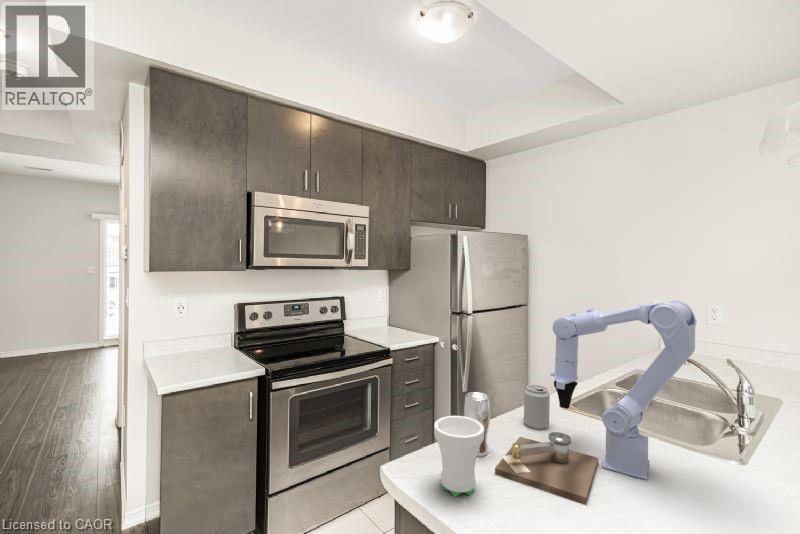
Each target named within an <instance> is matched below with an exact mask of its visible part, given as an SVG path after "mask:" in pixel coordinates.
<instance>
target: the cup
mask: <svg viewBox="0 0 800 534" xmlns="http://www.w3.org/2000/svg"><path fill="white" fill-rule="evenodd" d="M433 426H434V427H433V430H434V431H433V432H434V437H435V440H436V442H437V444H438V446H439V450H440V455H441V464H442V470H441V480H440V482H441V487H442V490H445V491H449V492H450V493H451V494H452V495H453V496H454V497H459V496H460V495H461V494H466V495H470V496H471V495H472V494H473V491H474V490H475V489H474V488H475V486H476V475H475V470H476V469H475V467H476V459H477V457H478V456H477V453H478V450H479V447H480V445H481V443H482V441H483V440H484V427H483V425H482V424H481V423H480V422H478V421H477V420H475V419H472V418H469V417H465V415H463V416H462V415H448V416H444V417H443V416H442V417H440V418H438V419H437V420H436V421H435V422H434V425H433Z"/></svg>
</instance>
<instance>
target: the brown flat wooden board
mask: <svg viewBox="0 0 800 534" xmlns="http://www.w3.org/2000/svg"><path fill="white" fill-rule="evenodd" d="M514 443H518V444H520V445H526V444H535V443H543V441H539V440H538V441H537V440H534V439H530V438H526V437H523V436H519V437H518V438H517V440H516V441H515V442H514ZM500 458H501V460H500V461H499V462H498V464H497V465H496V467H495V468H494V475H496V476H500V477H502V478H506V479H508V480H512V481H515V482H517V483H520V484H523V485H526V486H530V487H532V488H535V489H538V490H541V491H544V492H546V493H550V494H553V495H556V496H558V497H562V498H565V499H567V500H571V501H573V502H576V503H579V504H583V505H585V506H587V503H588V500H589V496H590V493H591V490H592V487H593V486H592V485H593V483H594V479H595V476H596V472H597V469H598V465H599V457H598V456H594V455H591V454H587V453H583V452H579V451H576V450H571V449H569V462H568V463H557V462H555V461H553V460H551V459H550V453H545V454H536V455H528V456H521V458H520V459H514V458H513V457H512V446H511V447H510V448H509V449H508V451H507V452H506V454H505V455H501V456H500Z"/></svg>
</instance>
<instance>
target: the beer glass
mask: <svg viewBox="0 0 800 534" xmlns="http://www.w3.org/2000/svg"><path fill="white" fill-rule="evenodd" d="M464 396H465V397H464V408H463V409H464V410H463V411H464V413H463V414H464V415H463V416H464V417H469V418H472V419H475V420H477V421H478V422H480V423H481V424H482V425H483V427H484V440H483V441H482V443H481V445H480V447H479V450H478V453H477V456H476V457H479V458H481V457H486V456H487V455H488V454H489V447H488V446H489V445H488V433H489V428H490V423H491V408H492V407H491V396H490V395H489V394H487V393H484V392H482V391H481V392H479V391H471V392H467V393H465V395H464Z"/></svg>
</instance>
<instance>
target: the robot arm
mask: <svg viewBox="0 0 800 534" xmlns="http://www.w3.org/2000/svg"><path fill="white" fill-rule="evenodd" d="M694 314H695V313H694V312H693V310H692V308H691V307H690V305H688V304H687V303H685V302H682V301H679V300H673V301H670V302H667V303H665V302H655V303H645V304H638V305H635V306H631V307H627V308H622V309H617V310H615V311H614V310H613V311H610V312H606V313H605V312H602V311H600V310H598V309H595V310H594V308H590V309H587V310H586V312H582V313H578V314H576V313H575V312H574V313H571V314H569V315H570V316H566V317H565V316H564V317H560V318H558V319H555V320H554V321H553V324H552V331H553V334H554V335H555V358H554V359H555V360H554V361H555V363H554V371H550V374H549V375H550V376H551V377H553V378H554V379H555V380H554V382H553V387H554V388H555V390H556V393H557V397H558V401H559V407H560V408H562V409H567V410H568V409H569V408H570V405H571V403H572V397H573V393H574V391H575V389H576V387H577V386H578V382H577V381H578V379H579V378H578V377H579V376H578V359H579V358H578V354H579V337H580V336H586V335H591V334H597V333H602V332H605V331H606V330H607V329H608V327H609V326H611V325H617V324H618V325H619V324H624V323H629V322H634V321H638V322H641V323H643V324H646V325H650V324H651V325H652V326H653V328H654V329H656V331H657V332H658V334H659V335H660V336H661V339H662V342H663V344H664V347H663V349H662V350H661V352H659V354H658V355H657V357H656V358H655V359H654V360H653V361H652V362H651V364H650V365H649V366H648V367H647V368H646V370H645V371H644V372H643V373H642V374H641V376H640V377H639V378H638V379H637V381H636V382H635V383H634V384H633V386H632V387H631V388H630V389H629V390H628V392H626V394H625V395H624V396H623V397H622V398H621V399H619V401H618V402H616V404H615V405H613V406H612V407H609V408H606V409H605V410H604V411H603V413H602V416H601V421H602V423H603V425H604V427H605V453H604V457H603V460H602V463H601V467H602V468H603V469H606V470H610V471H614V472H617V473H621V474H623V475H628V476H631V477H636V478H639V479H642V480H648V469H650V460H649V436H646V435H643V434H641V433H640V431H639V427H638V425H640V423H642V421H643V415H644V412H645V411H646V410H647V408H648V406H649V404H650V403H651V402H652V401H653V400H654V399H655V398H656V396H657V395H658V394H659V393H660V392H661V390H662V389H664V387H665V386H666V384H668V383H669V382H670V380H671V379H672V378H673V377H674V376H675V374H676V373H677V372H678V371H679V370H680V369H681V368H682V367H683V365H684V364H685V363H686V362H687V361H688V360H689V359H690V357H691V356H692V355H693V354H694V352H695V349H696V326H697V321H698V320H697V317H696V316H695V315H694Z"/></svg>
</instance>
